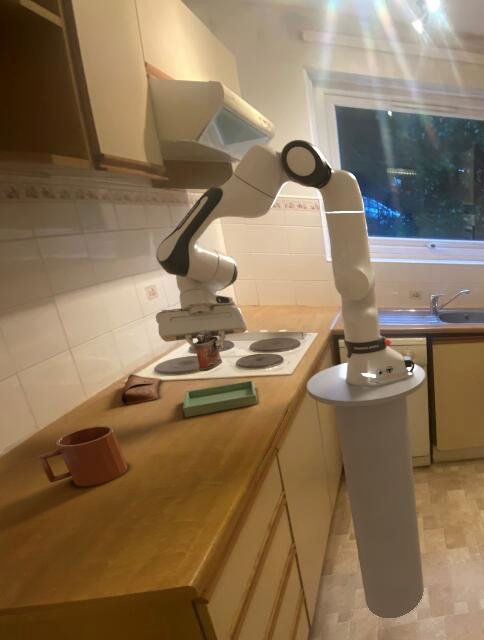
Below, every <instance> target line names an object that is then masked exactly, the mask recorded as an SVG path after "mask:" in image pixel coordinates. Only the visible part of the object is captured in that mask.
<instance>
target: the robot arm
mask: <svg viewBox="0 0 484 640" xmlns="http://www.w3.org/2000/svg"><path fill="white" fill-rule="evenodd" d="M290 182H292V183H295V184H298V185H300V186H302V187H306V188H314V189H316V190H318V191H319V193H320V195H321V198H322V202H323V208H324V214H325V221H326V226H327V232H328V237H329V245H330V256H331V257H330V259H331V267H332V276H333V281H334V282H333V283H334V288H335V290H336V291H337V293H339V295H340V299H341V300H340V301H341V320H342V327H343V333H344V339H343V342H344V345H343V347H344V352H345V356H346V363H347V376H346V382H348V383H349V384H352V385H360V386H369V387H377V386H381V385H385V384H388V383H392V382H396V381H399V380H403V379H407V378H410V377H413V376H414V371H413V369H414V364H415V362H414V361H413V360H412V358H411V355H405V356H403V355H402V354H401V353H400V352H398V351H397V350H395V349H393V348H392V347H390V346H391V345H392V340H391V339H389V338H388V337H385V336H383V335H381V330H380V320H379V309H378V296H377V283H376V273H375V270H374V267H372V262H371V252H370V241H369V234H368V225H367V218H366V211H365V205H364V200H363V196H362V192H361V189H360V186H359V182H358V180H357V178H356V176H355V175H354V174H353V173H351V172H350V171H347V170H344V169H335V168H332V166H331V165H330V164H329V162H328V160H327V158H326V157H325V154H324V153H323V152H322V151H321V150H320V149H319V148H318V147H317V146H316V145H314V144H313V143H311V142H309V141H307V140H303V139H294V140H291V141H288V142H287V143H286V144H285V145H284V147H282V149H281V151H278V150H276V149H274V148H272V147H271V146H268V145H266V144H261V143H259V144H257V143H256V144H254V145H252V146H251V147H250V148H249V149H248V150H247V151H246V152H245V154H244V155H243V156H242V158H241V159H240V161H239V162H238V164H237V165H236V167H235V169H234V171H233V173H232V174H231V176H230V178H228V180H227V181H226V182H225V183H223V184H222V185H220V186H216V187H215V186H214V187H209V188H208V189H207V190H205V192H204V193H203V194H202V195H201V196H200V197H199V198H198V199H197V201H196V202H195V203H194V204H193V206H192V207H191V208H190V209H189V211H188V212H187V213H186V214H185V216H184V217H183V219H182V220H181V221H180V222H179V223H178V224H177V226H176V227H175V229H174V230H173V231H172V232H171V233H170V234H169V235H168V236H166V237H165V238H164V239H163V240H162V241H161V243H160V244H159V245H158V247H157V250H156V260H157V262H158V264H159V265H160V266H161V268H162V269H163V270H164V271H165V272H166V273H167V274H168V275H173V276H175V279H176V286H177V288H178V289H177V290H179V303H180V307H179V308H172V309H162V310H161V311H159V312H157V313H156V314H155V321H156V323H157V324H158V328H157V330H158V335H159V337H160V339H161V340H163V341H164V342H166V343H167V342H176V341H186V343H187V344H188V345H189V346H191V350H192V352H193V353H194V352H196V348H195V347H194V344H195V343H196V342H194V339H197V335H199V333H200V332H205V331H208V330H210V331H212V332H213V334H212V335H210V336H211V337H218V340H217V341H215V343H216V347H217V349H219V350H220V349H223V348H224V346H223V343H224V342H225V340H226V336H229V335H237V334H238V335H239V334H245V333H246V331H247V329H248V328H247V324H246V321H245V318H244V316H243V313H242V311H241V309H240V308H239V307H238V306H237V303H236V301H235V299H234V298H233V297H231V296H224V295H218V294H217V292H221V291H223V290H225V289H226V288H228V287H230V286H232V285H233V284H234V283H235V282H236V280H237V278H238V273H239V272H238V266H237V263H236V261H235V259H234V258H233V257H232V256H231V255H229V254H226V253H224V252H221V251H219V250H216V249H212V248H209V247H207V246H204V245H201V244H200V243H197V242H198V241H199V240H200V238H201V237H202V236H203V234H204V233H205V232H206V230H207V229H208V227H209V226H210V225H211V224H212V223H213V222H214V221H216V220H217V219H220V218H227V217H228V218H240V219H241V218H242V219H257V218H261V217H264V216H265V215H267V214H268V213H269V212H270V210H271V209H272V207H273V206H274V205H275V202H276V200H277V198H278V196H279V194H280V192H281V190H282V189H283V187H284V186H285V185H286V184H288V183H290ZM411 367H412V368H411Z"/></svg>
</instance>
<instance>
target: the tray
mask: <svg viewBox="0 0 484 640" xmlns="http://www.w3.org/2000/svg"><path fill="white" fill-rule="evenodd" d="M257 398H258V397H257V391H256V386H255V383H254V380H247V381H241V382H240V381H239V382H234V383H228V384H222V385H216V386H209V387H203V388H198V389H191V390H186V391H185V395H184V401H183V405H182V411H183V413H184V416H185V417H184V418H188V417H194V416H200V415H205V414H211V413H215V412H221V411H225V410H230V409H232V410H233V409H237V408H242V407H247V406H254V405H257V404H258V399H257Z"/></svg>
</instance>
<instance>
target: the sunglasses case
mask: <svg viewBox="0 0 484 640" xmlns="http://www.w3.org/2000/svg"><path fill="white" fill-rule="evenodd" d="M161 382H162V378H159V377H148V376H141V375H137V374H134V373H133V374H129V376H128V377H127V379H126V382H125V385H124V387H123V389H122V393H121V402H122V403H124V404H126V405H134V404H135V405H136V404H141V403H146V402H149V401H153V400H156V399H158V398H159V393H158V391H159V387H160V384H161Z"/></svg>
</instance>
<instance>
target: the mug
mask: <svg viewBox="0 0 484 640" xmlns="http://www.w3.org/2000/svg"><path fill="white" fill-rule="evenodd" d="M55 445H56V446H57V450H54V451H49V452H47V453H44V454H40V455H38V457H37V458H38V461H39V463H40V466H41V468H42V469H43V472H44V474H45V476H46V478H47V480H48V482H50V483H55V482H58V481H61V480H65V479H68V478H71V479H72V481H73V484H74V485H75V486H78V487H92V486H98V485H101V484H105V483H108V482H110V481H112V480H115V479H117V478H118V477H120V476H122V475H124V474H125V473H126V472H127V470H128V463H127V461H126V457H125V455H124V453H123V450H122V447H121V445H120V443H119V440H118V437H117V435H116V432H115V430H114V428H113V427H112V426H111V425H110V426H108V425H95V426H90V427H84V428H81V429H76V430H74V431H71V432H69V433H66V434H64V435H62V436H61V437H60V438H59V437H58V439H57V440H56V442H55ZM60 455H61V457H62V460H63V462H64V464H65V466H66V468H67V470H68V471H66V472H65V473H64V472H63V473H61V474H57V475H55V473H54V471H53V469H52V467H51V464H50V462H49V461H48V459H51V458H55V457H57V456H60Z"/></svg>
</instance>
